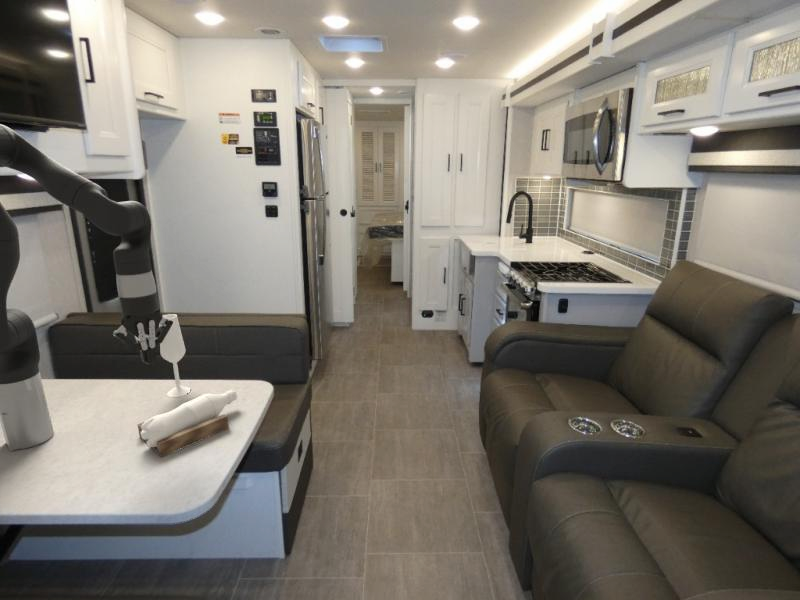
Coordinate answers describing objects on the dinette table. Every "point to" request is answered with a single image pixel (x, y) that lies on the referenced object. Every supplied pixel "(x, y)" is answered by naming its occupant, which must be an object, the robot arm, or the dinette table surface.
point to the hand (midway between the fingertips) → (149, 362)
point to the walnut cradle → (189, 435)
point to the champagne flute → (174, 353)
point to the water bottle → (185, 416)
